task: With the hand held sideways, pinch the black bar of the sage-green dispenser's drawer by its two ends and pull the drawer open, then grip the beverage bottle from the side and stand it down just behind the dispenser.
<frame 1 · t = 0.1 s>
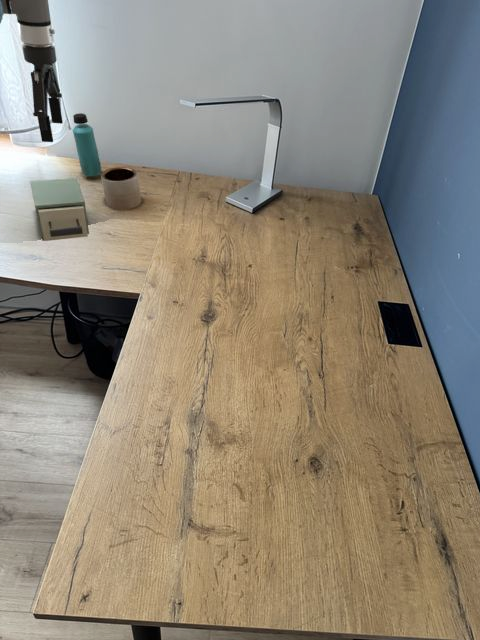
hand: (52, 131, 138), 23 cm above the table, tool pointing down, fingers open, 13 cm apart
planter: (124, 204, 159), on the table
dispenser: (62, 225, 146), on the table
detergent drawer: (62, 218, 139), point 5 cm above the table, slide at 0.5 cm
beverage bottle: (92, 177, 170), on the table
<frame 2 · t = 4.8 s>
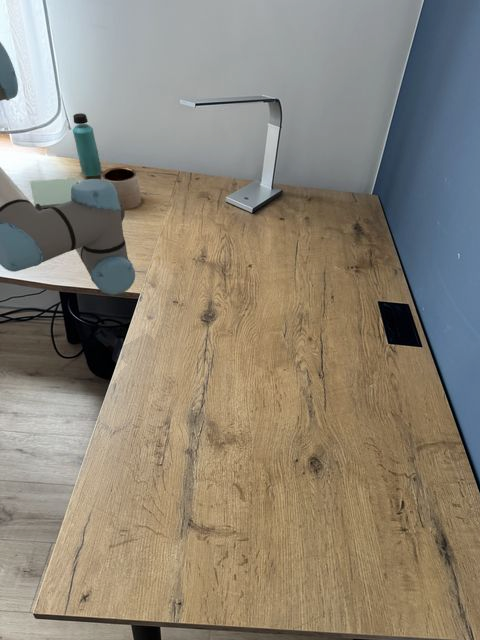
hand: (69, 204, 115), 20 cm above the table, tool horizontal, fingers open, 13 cm apart
nothing on the table moved.
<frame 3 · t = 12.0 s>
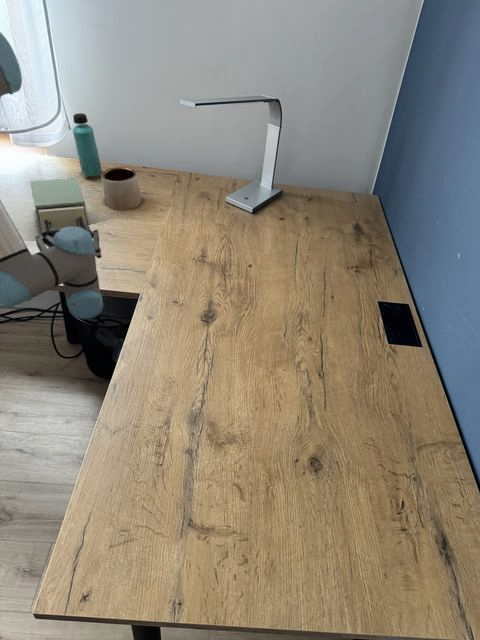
hand: (64, 223, 135), 6 cm above the table, tool horizontal, fingers closed on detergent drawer, 8 cm apart
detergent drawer: (62, 218, 139), point 5 cm above the table, slide at 0.5 cm, touching gripper
everything else where it was.
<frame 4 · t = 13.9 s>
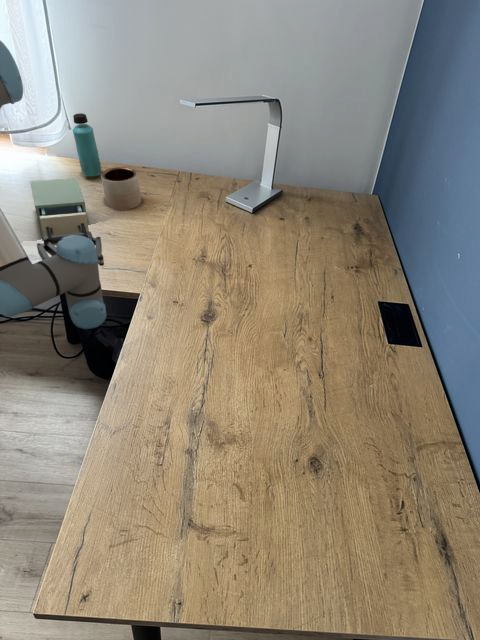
hand: (65, 229, 133), 6 cm above the table, tool horizontal, fingers closed on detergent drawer, 8 cm apart
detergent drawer: (64, 224, 136), point 5 cm above the table, slide at 4.0 cm, touching gripper
everything else where it was.
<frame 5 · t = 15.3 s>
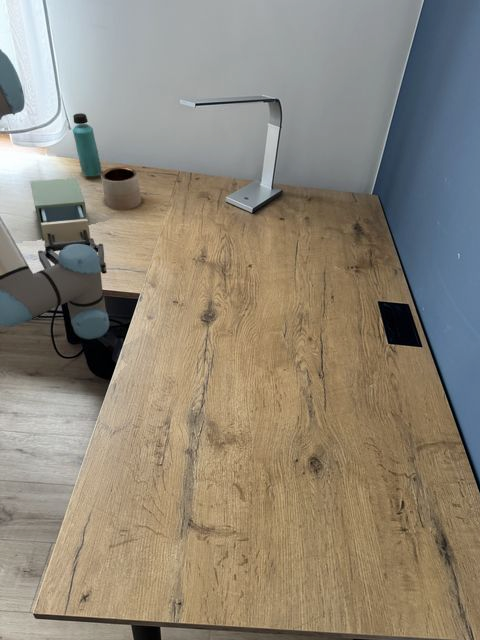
hand: (67, 236, 130), 6 cm above the table, tool horizontal, fingers closed on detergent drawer, 8 cm apart
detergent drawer: (65, 231, 134), point 5 cm above the table, slide at 7.5 cm, touching gripper
everything else where it was.
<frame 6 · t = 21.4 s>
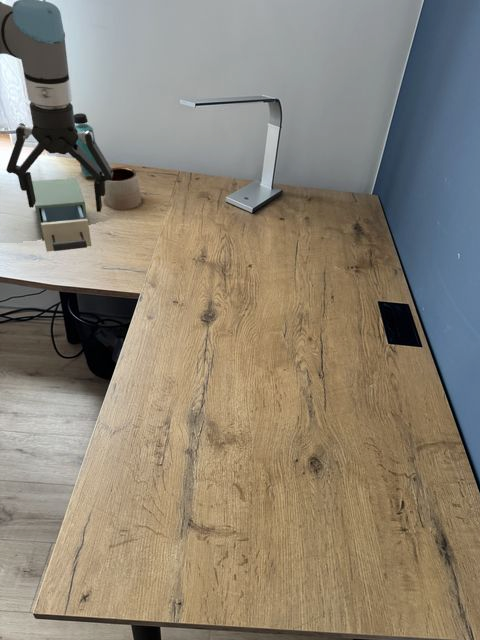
hand: (66, 206, 108), 24 cm above the table, tool pointing down, fingers open, 13 cm apart
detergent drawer: (65, 231, 134), point 5 cm above the table, slide at 7.5 cm
everything else where it was.
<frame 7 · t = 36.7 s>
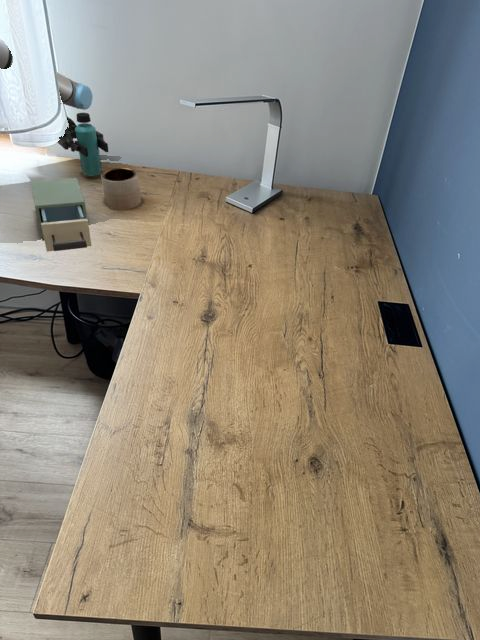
hand: (96, 150, 160), 11 cm above the table, tool horizontal, fingers closed on beverage bottle, 6 cm apart
beverage bottle: (92, 176, 170), on the table, touching gripper
everything else where it was.
when the fingers open (11 cm above the table, at t = 44.4 s): beverage bottle stays where it is, on the table.
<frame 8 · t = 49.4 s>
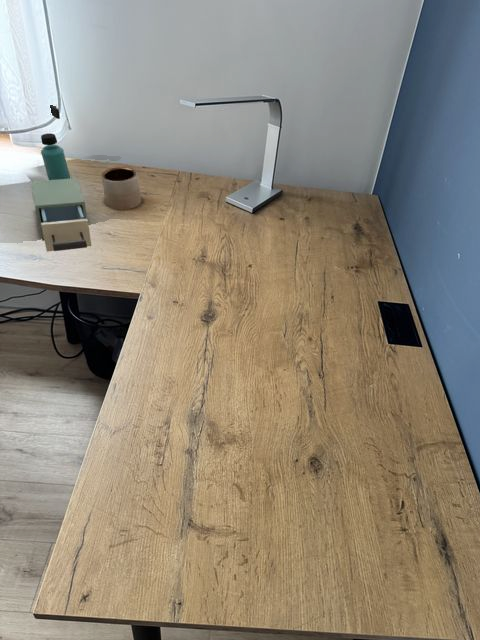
hand: (36, 117, 146), 22 cm above the table, tool horizontal, fingers open, 13 cm apart
beverage bottle: (65, 201, 156), on the table
everything else where it was.
at the end: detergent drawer slide at 7.5 cm; beverage bottle inside the target area on the table beside the dispenser (0.4 cm from its centre), on the table; beverage bottle tilted 5° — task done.
